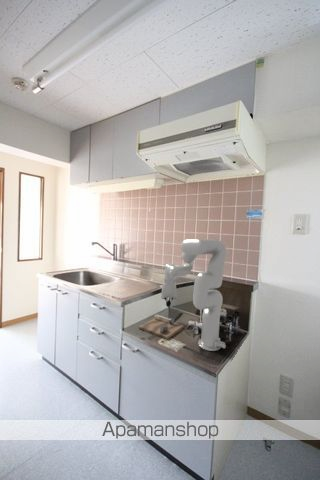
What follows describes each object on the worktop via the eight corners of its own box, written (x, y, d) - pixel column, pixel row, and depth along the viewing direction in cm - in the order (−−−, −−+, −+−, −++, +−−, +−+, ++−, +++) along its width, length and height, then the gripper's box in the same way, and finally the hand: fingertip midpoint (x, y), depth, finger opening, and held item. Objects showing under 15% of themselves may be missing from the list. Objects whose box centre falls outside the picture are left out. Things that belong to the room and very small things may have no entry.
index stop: (167, 332, 138) (167, 325, 138) (162, 335, 134) (163, 328, 134) (164, 331, 140) (165, 324, 139) (160, 334, 135) (160, 327, 135)
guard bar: (174, 323, 149) (174, 318, 149) (172, 324, 146) (172, 320, 146) (156, 317, 157) (156, 313, 157) (153, 318, 155) (154, 314, 155)
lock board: (183, 327, 146) (184, 325, 146) (167, 339, 130) (167, 337, 130) (157, 319, 159) (157, 316, 159) (138, 328, 143) (138, 326, 143)
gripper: (178, 280, 162) (177, 304, 163) (158, 279, 159) (157, 304, 161) (181, 282, 155) (179, 308, 156) (160, 282, 152) (158, 308, 153)
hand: (168, 306), depth 158 cm, fingers closed
